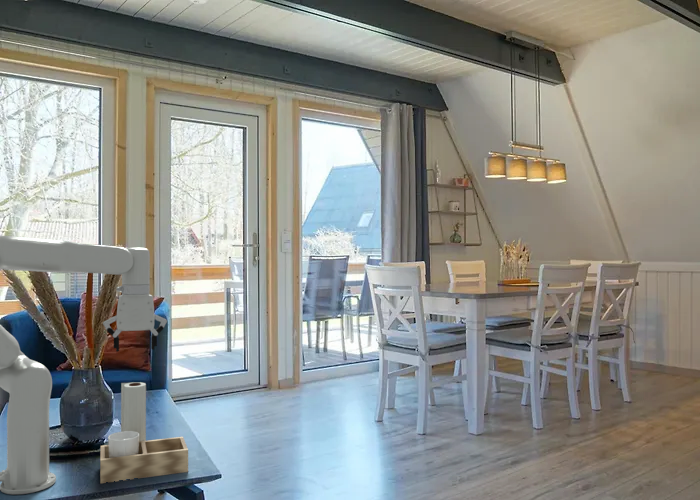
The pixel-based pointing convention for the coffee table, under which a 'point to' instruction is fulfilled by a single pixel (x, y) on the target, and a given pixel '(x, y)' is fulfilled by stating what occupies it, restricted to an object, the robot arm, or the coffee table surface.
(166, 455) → the wooden caddy
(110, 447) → the white cup
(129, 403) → the paper towel roll
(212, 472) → the coffee table surface
